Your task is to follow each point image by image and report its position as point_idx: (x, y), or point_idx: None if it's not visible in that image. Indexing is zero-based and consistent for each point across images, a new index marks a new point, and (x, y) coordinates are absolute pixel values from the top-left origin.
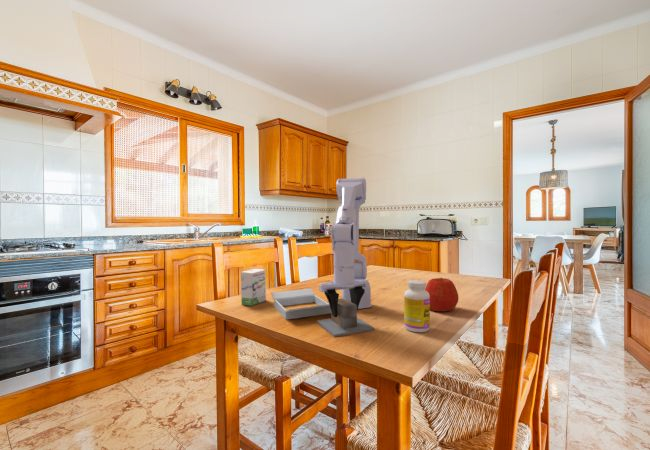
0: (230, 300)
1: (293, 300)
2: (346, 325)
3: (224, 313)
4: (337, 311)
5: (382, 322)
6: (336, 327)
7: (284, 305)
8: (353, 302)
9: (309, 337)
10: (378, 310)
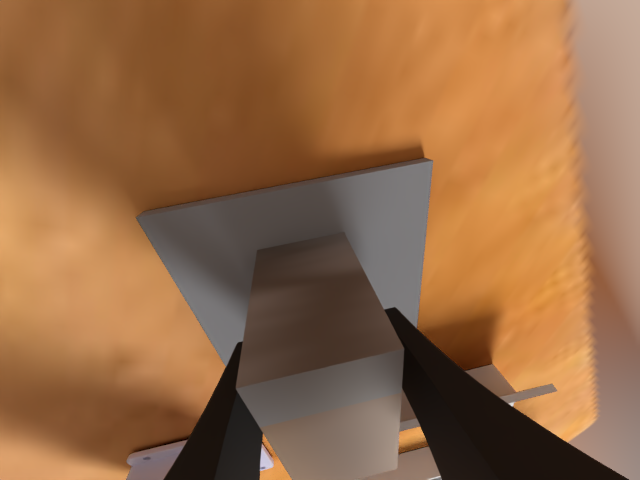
0: None
1: (414, 468)
2: (329, 246)
3: (593, 402)
4: (402, 336)
5: (77, 311)
6: (371, 261)
7: None
8: (245, 446)
9: (529, 187)
10: (97, 431)
